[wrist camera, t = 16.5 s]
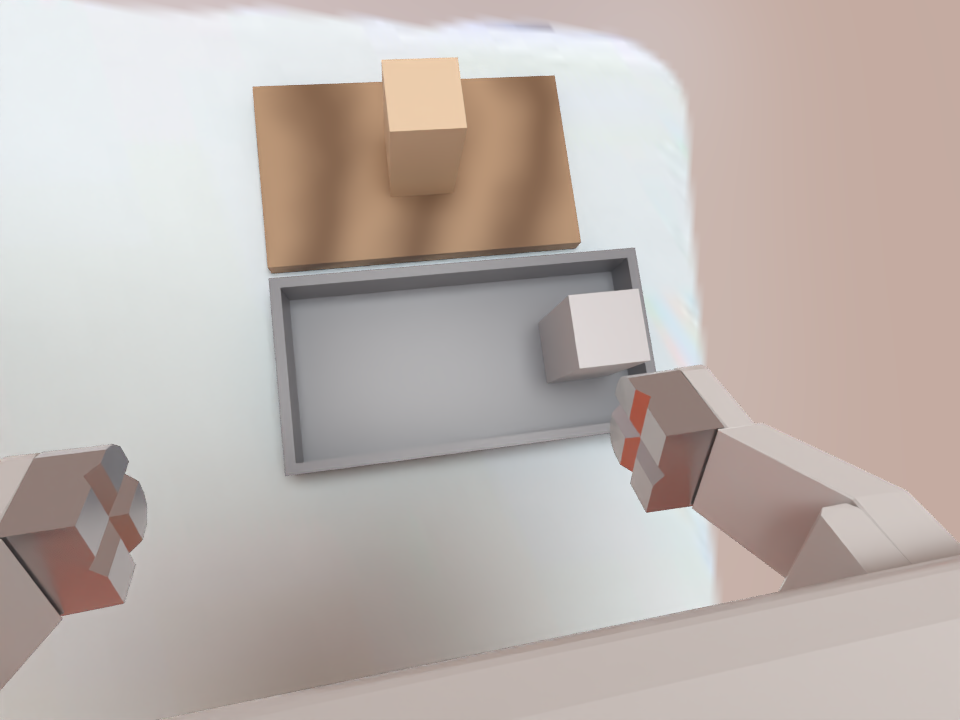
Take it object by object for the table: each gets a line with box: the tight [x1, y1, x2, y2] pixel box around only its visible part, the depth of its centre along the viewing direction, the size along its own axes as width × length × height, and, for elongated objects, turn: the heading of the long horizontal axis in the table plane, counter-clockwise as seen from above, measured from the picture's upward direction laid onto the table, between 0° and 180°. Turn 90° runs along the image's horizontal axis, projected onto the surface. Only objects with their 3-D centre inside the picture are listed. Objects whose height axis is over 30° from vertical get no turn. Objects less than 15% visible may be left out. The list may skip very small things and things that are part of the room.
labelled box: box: [382, 57, 467, 197], centre depth 35 cm, size 4×4×8 cm
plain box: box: [538, 289, 651, 383], centre depth 36 cm, size 4×4×7 cm
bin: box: [269, 248, 656, 476], centre depth 37 cm, size 22×11×4 cm, turn 97°
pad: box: [253, 76, 581, 273], centre depth 40 cm, size 20×12×1 cm, turn 97°
